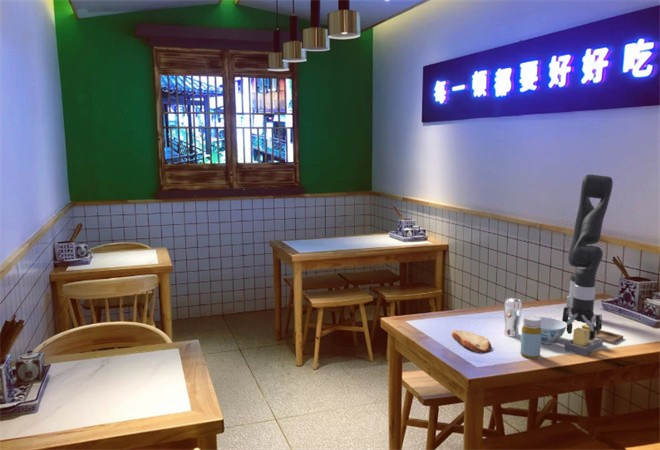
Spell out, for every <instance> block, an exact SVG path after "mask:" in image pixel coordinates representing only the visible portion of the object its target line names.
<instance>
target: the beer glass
mask: <svg viewBox="0 0 660 450" xmlns="http://www.w3.org/2000/svg"><path fill="white" fill-rule="evenodd" d="M522 303H523V302H522V300H521V299H519V298H515V297H509V298H505V300H504V307H503V315H504V323H505V325H504V331H503V334H504V336H506V337H510V338H511V337H512V338H516V337H519V336H520V330H519V324H520V321H521V317H522Z"/></svg>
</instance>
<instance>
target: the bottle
mask: <svg viewBox="0 0 660 450" xmlns="http://www.w3.org/2000/svg"><path fill="white" fill-rule="evenodd" d="M540 317H541V316H537V315H532V314H531V315H529V314H528V315H525V316H523V320H522V321H523V324H522V327H521V336H520V350H519V351H520V353H519V354H520V355H521V356H522V357H524V358H527V359H532V360H533V359H534V360H535V359H538V358H540V356H541V347H542V346H541V345H542V343H541V328H540V326H541V318H540Z"/></svg>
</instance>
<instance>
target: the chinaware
mask: <svg viewBox="0 0 660 450" xmlns="http://www.w3.org/2000/svg"><path fill="white" fill-rule="evenodd" d="M539 317H540V318H541V326H540V328H541V344H546V345H551V344H553V343H555V341H556V340H558V339H560V338H561V337H562V336H563V335H564V333H565V331H566V330H567V323H566V322H563V321H562V320H560V319H556V318H554V317H547V316H546V317H545V316H539Z"/></svg>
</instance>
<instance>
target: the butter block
mask: <svg viewBox="0 0 660 450" xmlns="http://www.w3.org/2000/svg"><path fill="white" fill-rule="evenodd" d="M572 336H573V338H572V339H573V344H575V345H579V346H582V347H585V346H587V345H588V336H589V330H587V329H583V328H582V327H576V328H574V329H573V335H572Z"/></svg>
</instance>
